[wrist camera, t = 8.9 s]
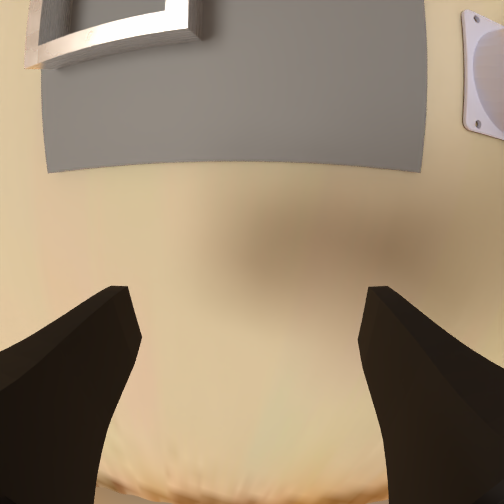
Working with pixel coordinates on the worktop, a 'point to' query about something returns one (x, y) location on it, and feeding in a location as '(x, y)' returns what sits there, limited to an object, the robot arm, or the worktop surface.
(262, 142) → the board
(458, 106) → the worktop surface
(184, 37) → the square storage bin
